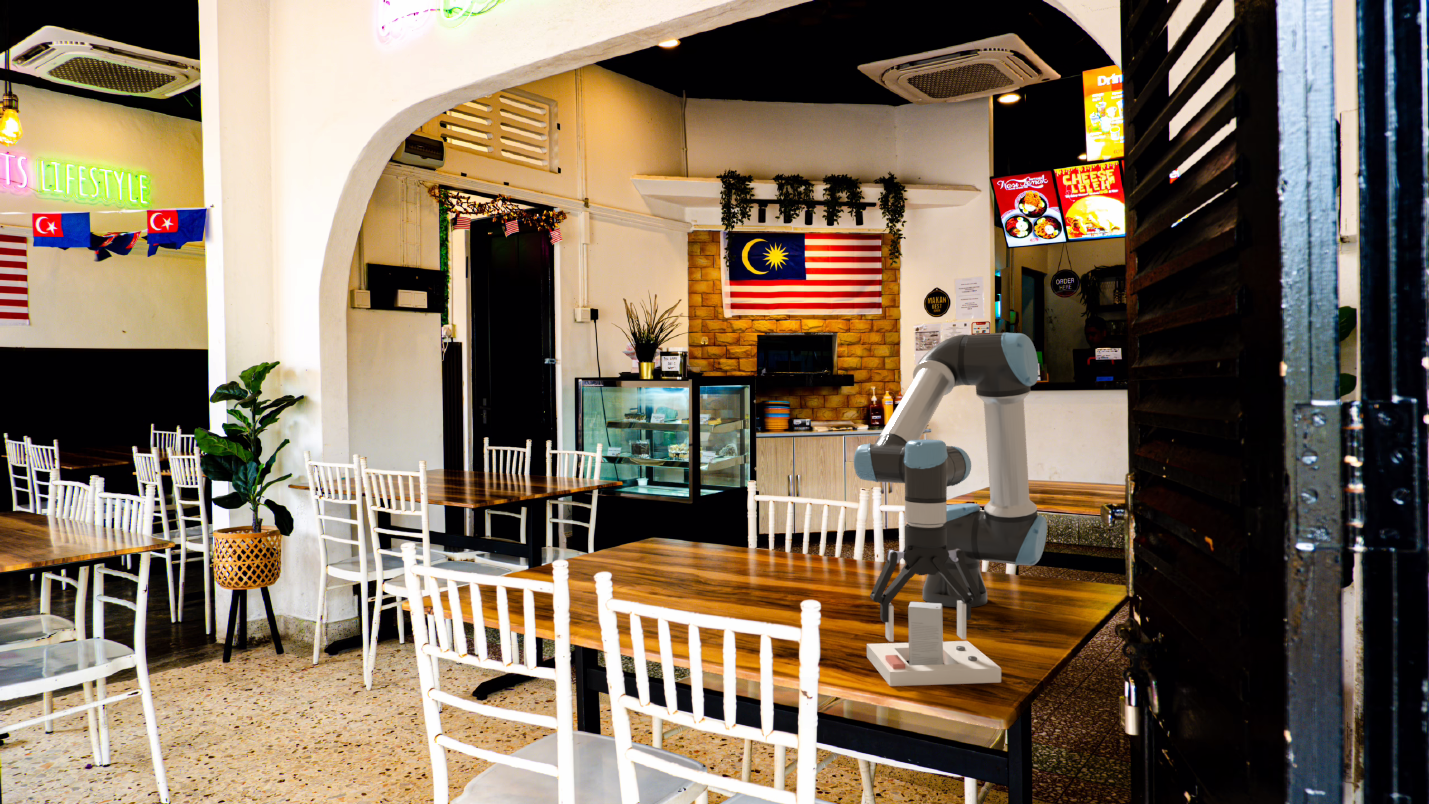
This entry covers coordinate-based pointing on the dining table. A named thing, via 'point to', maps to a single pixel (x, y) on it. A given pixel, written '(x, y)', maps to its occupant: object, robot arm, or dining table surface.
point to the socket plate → (957, 669)
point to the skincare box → (925, 633)
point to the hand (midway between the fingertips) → (925, 638)
